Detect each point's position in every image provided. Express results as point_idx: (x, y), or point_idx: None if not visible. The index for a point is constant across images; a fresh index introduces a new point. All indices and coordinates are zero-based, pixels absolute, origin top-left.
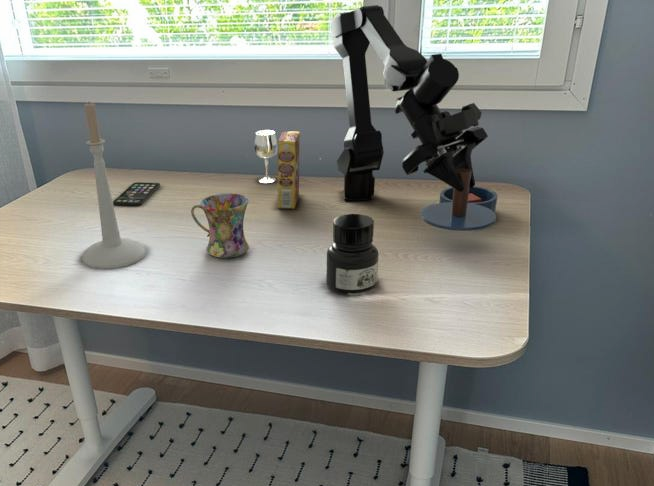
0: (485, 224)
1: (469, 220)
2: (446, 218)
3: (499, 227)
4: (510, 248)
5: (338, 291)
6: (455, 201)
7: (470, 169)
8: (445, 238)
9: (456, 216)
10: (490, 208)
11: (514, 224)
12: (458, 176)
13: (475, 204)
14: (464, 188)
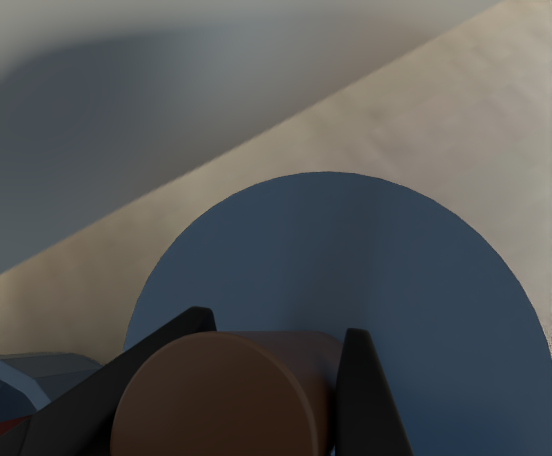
0: (360, 178)
1: (360, 274)
2: (421, 403)
3: (88, 304)
4: (241, 179)
5: None
6: None
7: (87, 407)
8: None
9: None
10: (28, 358)
11: (42, 275)
12: (364, 439)
13: None
14: (353, 329)
